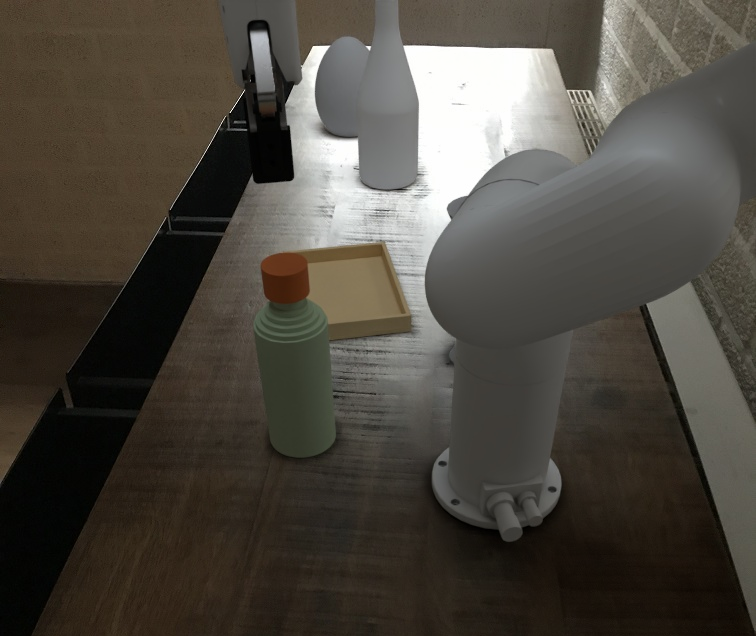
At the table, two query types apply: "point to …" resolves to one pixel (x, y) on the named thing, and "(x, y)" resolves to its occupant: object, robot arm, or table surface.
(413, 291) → the table surface
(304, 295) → the cap
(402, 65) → the wine bottle
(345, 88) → the decorative egg
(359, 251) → the tray
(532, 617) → the table surface
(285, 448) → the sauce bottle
